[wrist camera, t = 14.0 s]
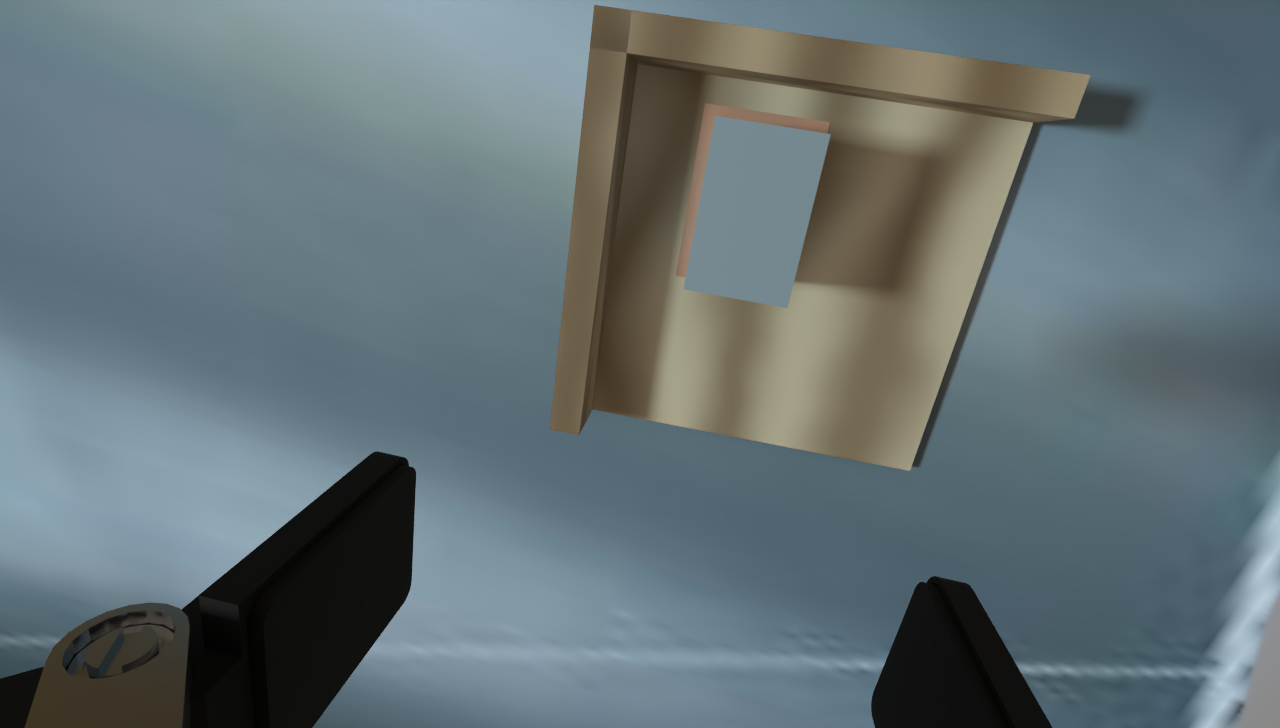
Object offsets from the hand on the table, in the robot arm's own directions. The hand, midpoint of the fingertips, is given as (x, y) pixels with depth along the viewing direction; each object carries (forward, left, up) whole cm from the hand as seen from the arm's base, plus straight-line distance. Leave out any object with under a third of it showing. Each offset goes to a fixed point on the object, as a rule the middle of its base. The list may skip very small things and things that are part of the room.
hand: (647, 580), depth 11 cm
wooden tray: (-3, -2, -23) cm, 23 cm away
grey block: (-2, -5, -22) cm, 23 cm away
